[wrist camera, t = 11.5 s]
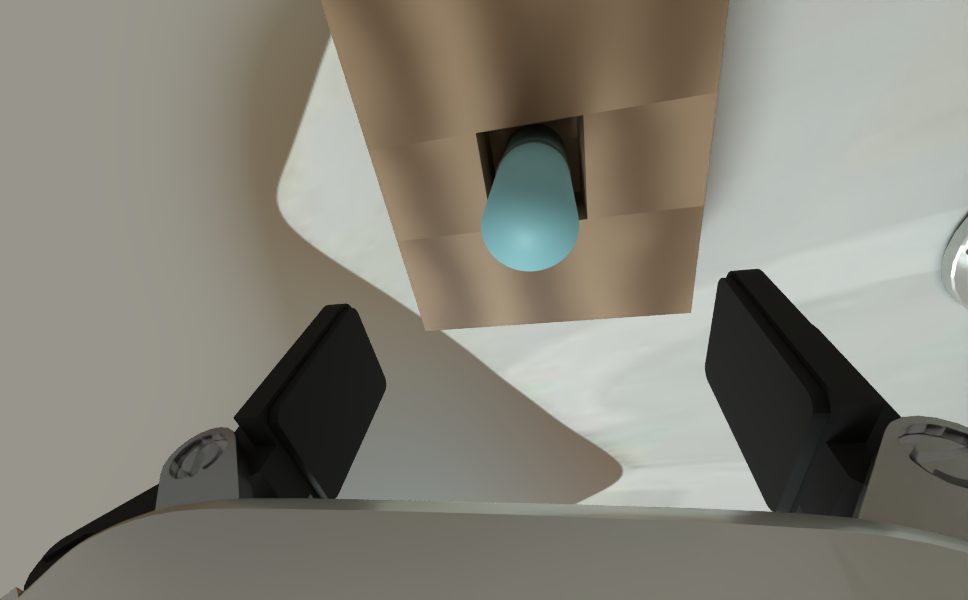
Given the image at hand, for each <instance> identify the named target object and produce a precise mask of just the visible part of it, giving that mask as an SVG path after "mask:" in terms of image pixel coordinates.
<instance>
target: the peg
mask: <svg viewBox="0 0 968 600" xmlns="http://www.w3.org/2000/svg"><path fill="white" fill-rule="evenodd" d="M481 232H482V237H483V240H484V243H485V245H486V247H487V249H488V250H489V252H490V253H491V254H492V255H493V256H494V257H495V258H496V259H497V260H498V261H499V262H500V263H502V264H504V265H505V266H508V267H510V268H512V269H516V270H520V271H540V270H544V269H547V268H550V267H552V266H554V265H556V264H557V263H559V262H560V261H562V260H563V259H564V258H565V257H566V256H567V255H568V254H569V253H570V251H571V250H572V248H573V247H574V245H575V243H576V240H577V237H578V233H579V217H578V212H577V207H576V202H575V197H574V192H573V187H572V182H571V173H570V168H569V164H568V161H567V157H566V152H565V147H564V144H563V141H562V139H561V137H560V136H559V135H558V133H557V132H556V131H555V130H553V129H552V128H550V127H548V126H546V125H542V124H529V125H526V126H523V127H521V128H520V129H518V130H517V131H516V132H515V133H513V135H512V136H511V137H510V139H509V140H508V142H507V144H506V147H505V150H504V153H503V156H502V159H501V160H500V163H499V165H498V168H497V171H496V177H495V180H494V183H493V185H492V188H491V191H490V194H489V197H488V200H487V203H486V206H485V209H484V212H483V216H482V221H481Z"/></svg>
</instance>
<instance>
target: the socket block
mask: <svg viewBox="0 0 968 600" xmlns="http://www.w3.org/2000/svg"><path fill="white" fill-rule="evenodd" d="M321 3H322V6H323V9H324V13H325V16H326V19H327V22H328V25H329V28H330V31H331V35H332V38H333V41H334V44H335V47H336V50H337V53H338V57H339V60H340V63H341V66H342V69H343V72H344V75H345V79H346V82H347V85H348V88H349V91H350V94H351V97H352V101H353V104H354V107H355V110H356V113H357V116H358V119H359V123H360V126H361V129H362V132H363V135H364V138H365V141H366V145H367V148H368V151H369V154H370V157H371V160H372V164H373V167H374V170H375V173H376V176H377V179H378V182H379V186H380V189H381V192H382V195H383V198H384V201H385V204H386V208H387V211H388V214H389V217H390V220H391V223H392V226H393V230H394V233H395V236H396V239H397V242H398V245H399V248H400V252H401V255H402V258H403V261H404V264H405V267H406V270H407V274H408V277H409V280H410V283H411V286H412V289H413V292H414V296H415V299H416V302H417V305H418V308H419V311H420V314H421V318H422V321H423V324H424V327H425V330H426V331H431V330H447V329H461V328H476V327H491V326H505V325H520V324H534V323H549V322H563V321H578V320H593V319H607V318H622V317H636V316H651V315H665V314H680V313H691V308H692V299H693V291H694V283H695V275H696V266H697V258H698V250H699V242H700V234H701V225H702V217H703V209H704V201H705V193H706V184H707V176H708V168H709V160H710V152H711V143H712V135H713V127H714V119H715V111H716V102H717V94H718V86H719V78H720V69H721V61H722V53H723V45H724V37H725V28H726V20H727V12H728V4H729V0H321ZM529 124H542V125H546V126H548V127H550V128H552V129H553V130H555V131H556V132H557V133H558V135H559V136H560V137H561V139H562V141H563V144H564V147H565V152H566V157H567V161H568V164H569V168H570V173H571V182H572V187H573V192H574V197H575V202H576V207H577V212H578V217H579V233H578V237H577V240H576V243H575V245H574V247H573V248H572V250H571V251H570V253H569V254H568V255H567V256H566V257H565V258H564V259H563V260H562V261H560V262H559V263H557V264H556V265H554V266H552V267H550V268H547V269H544V270H540V271H520V270H516V269H512V268H510V267H508V266H505V265H504V264H502V263H500V262H499V261H498V260H497V259H496V258H495V257H494V256H493V255H492V254H491V253H490V252H489V250H488V249H487V247H486V245H485V243H484V240H483V237H482V232H481V221H482V216H483V212H484V209H485V206H486V203H487V200H488V197H489V194H490V191H491V188H492V185H493V183H494V180H495V177H496V171H497V168H498V165H499V163H500V160H501V159H502V156H503V153H504V150H505V147H506V144H507V142H508V140H509V139H510V137H511V136H512V135H513V133H515V132H516V131H517V130H518V129H520V128H521V127H523V126H526V125H529Z"/></svg>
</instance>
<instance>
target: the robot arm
mask: <svg viewBox="0 0 968 600" xmlns="http://www.w3.org/2000/svg"><path fill="white" fill-rule="evenodd" d="M941 278H942V281H943V284H944V287H945V289H946V291H947V292H948V293H949V295H950V296H951V297H952V298H953V299H954V300H955V301H957V302H958V303H960V304H961V305H963V306H964V307H965V308H967V309H968V217H967V218H966V219H965V220H964V222H963V223H962V224H961V226H960V227H959V228H958V229H957V231H956V232H955V234H954V235H953V237H952V239H951V241H950V243H949V245H948V246H947V248H946V251H945V255H944V258H943V261H942V275H941ZM705 372H706V377H707V380H708V382H709V384H710V386H711V389H712V391H713V393H714V395H715V397H716V399H717V401H718V403H719V405H720V407H721V410H722V412H723V414H724V416H725V418H726V420H727V422H728V424H729V426H730V428H731V431H732V433H733V435H734V437H735V439H736V441H737V443H738V445H739V447H740V449H741V452H742V454H743V456H744V458H745V460H746V462H747V464H748V466H749V468H750V470H751V473H752V475H753V477H754V479H755V481H756V483H757V485H758V487H759V489H760V491H761V493H762V496H763V498H764V500H765V502H766V504H767V506H768V507H769V508H770V510H771V511H773V512H765V511H744V510H722V509H700V508H669V507H636V506H603V505H568V504H532V503H493V502H452V501H451V502H449V501H412V500H411V501H410V500H360V499H359V500H357V499H335V498H336V497H337V496H338V494H339V492H340V490H341V487H342V485H343V483H344V481H345V479H346V476H347V474H348V472H349V470H350V467H351V465H352V463H353V461H354V459H355V456H356V454H357V452H358V450H359V448H360V445H361V443H362V441H363V439H364V436H365V434H366V432H367V430H368V428H369V426H370V423H371V421H372V419H373V417H374V414H375V412H376V410H377V408H378V406H379V403H380V401H381V399H382V397H383V394H384V392H385V389H386V379H385V376H384V374H383V372H382V369H381V367H380V364H379V362H378V360H377V357H376V355H375V352H374V350H373V348H372V345H371V343H370V340H369V338H368V336H367V333H366V331H365V328H364V326H363V324H362V321H361V319H360V316H359V314H358V312H357V311H356V309H354V308H351V306H349V304H335V305H326V306H325V307H324V308H323V309H322V310H321V311H320V313H319V314H318V315H317V316H316V318H315V319H314V320H313V321H312V322H311V324H310V325H309V326H308V327H307V329H306V330H305V331H304V332H303V334H302V335H301V336H300V337H299V338H298V340H297V341H296V342H295V343H294V344H293V346H292V347H291V348H290V349H289V350H288V352H287V353H286V354H285V355H284V357H283V358H282V359H281V360H280V361H279V363H278V364H277V365H276V366H275V368H274V369H273V370H272V371H271V372H270V374H269V375H268V376H267V377H266V379H265V380H264V381H263V382H262V384H261V385H260V386H259V387H258V388H257V390H256V391H255V392H254V393H253V394H252V396H251V397H250V398H249V400H247V402H246V403H245V404H244V405H243V407H242V408H241V409H240V410H239V412H238V413H237V414H236V415H235V416H234V419H235V421H236V422H237V423H238V425H239V427H238V429H237V430H236V431H235V432H233V431H232V430H231V429H229V428H224V427H219V428H214V429H210V430H207V431H205V432H202V433H200V434H198V435H196V436H194V437H193V438H191V439H189V440H188V441H187V442H185V443H184V444H183V445H181V446H180V447H179V448H178V449H177V450H176V451H175V452H174V453H173V454H172V455H171V456H170V457H169V458H168V460H167V461H166V463H165V464H164V466H163V468H162V471H161V474H160V481H159V484H158V485H156V486H154V487H152V488H151V489H149V490H147V491H145V492H143V493H142V494H140V495H138V496H136V497H135V498H133V499H131V500H129V501H128V502H126V503H124V504H122V505H120V506H119V507H117V508H115V509H114V510H112V511H110V512H108V513H106V514H105V515H103V516H101V517H99V518H97V519H96V520H94V521H92V522H90V523H89V524H87V525H85V526H83V527H82V528H80V529H78V530H76V531H75V532H73V533H72V534H70V535H68V536H66V537H65V538H63V539H62V540H60V541H59V542H57V543H56V544H55V545H54V546H53V547H52V548H50V549H49V550H48V552H47V553H46V554H45V555H44V556H43V558H42V559H41V560H40V561H39V562H38V564H37V565H36V567H35V568H34V569H33V571H32V572H31V573H30V575H29V577H28V579H27V581H26V584H25V585H24V591H22V590H21V589H19V588H17V587H16V588H14V589H13V590H11V591H10V592H9V593H8V594H6V595H5V596H3V597H2V598H1V599H0V600H968V427H965V426H963V425H960V424H958V423H954V422H950V421H946V420H943V419H939V418H933V417H924V416H910V417H900V415H899V414H898V413H897V412H896V411H895V410H894V409H893V408H892V407H891V406H890V405H889V404H888V403H887V402H886V401H885V400H884V398H883V397H882V396H881V395H880V394H879V393H878V392H877V391H876V390H875V389H874V388H873V387H872V386H871V385H870V384H869V383H868V381H867V380H866V379H865V378H864V377H863V376H862V375H861V374H860V373H859V372H858V371H857V370H856V369H855V368H854V367H853V366H852V364H851V363H850V362H849V361H848V360H847V359H846V358H845V357H844V356H843V355H842V354H841V353H840V352H839V351H838V350H837V349H836V347H835V346H834V345H833V344H832V343H831V342H830V341H829V340H828V339H827V338H826V337H825V336H824V335H823V334H822V333H821V331H820V330H819V329H818V328H816V327H815V326H814V325H812V324H811V323H810V322H809V321H808V320H807V319H806V317H805V316H804V315H803V314H802V313H801V312H800V311H799V310H798V309H797V308H796V307H795V306H794V305H793V304H792V302H791V301H790V300H789V299H788V298H787V297H786V296H785V295H784V294H783V293H782V292H781V291H780V290H779V289H778V288H777V286H776V285H775V284H774V283H773V282H772V281H771V280H770V279H769V278H768V277H767V276H766V275H765V274H764V273H763V271H761V270H760V269H750V270H738V271H730V272H729V273H728V275H727V277H726V278H721V279H720V280H719V282H718V286H717V293H716V299H715V306H714V312H713V318H712V325H711V331H710V337H709V344H708V350H707V356H706V363H705Z"/></svg>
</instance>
